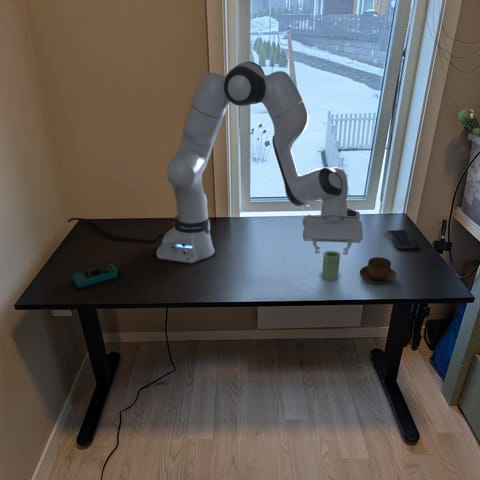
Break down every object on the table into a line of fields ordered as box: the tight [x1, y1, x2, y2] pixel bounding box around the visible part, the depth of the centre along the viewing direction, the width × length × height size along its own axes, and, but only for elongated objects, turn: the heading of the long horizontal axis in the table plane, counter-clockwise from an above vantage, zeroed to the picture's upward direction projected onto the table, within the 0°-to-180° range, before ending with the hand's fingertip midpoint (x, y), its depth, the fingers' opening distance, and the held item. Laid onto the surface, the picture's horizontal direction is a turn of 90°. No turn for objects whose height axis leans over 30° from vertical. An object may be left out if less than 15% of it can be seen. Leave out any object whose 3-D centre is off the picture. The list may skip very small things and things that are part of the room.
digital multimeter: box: [72, 263, 119, 289], centre depth 163 cm, size 7×15×3 cm, turn 122°
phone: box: [386, 229, 418, 251], centre depth 180 cm, size 8×1×15 cm
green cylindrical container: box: [321, 250, 341, 281], centre depth 158 cm, size 5×5×8 cm
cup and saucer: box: [359, 256, 397, 285], centre depth 156 cm, size 12×12×6 cm
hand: (331, 253), depth 157 cm, fingers open, 8 cm apart
